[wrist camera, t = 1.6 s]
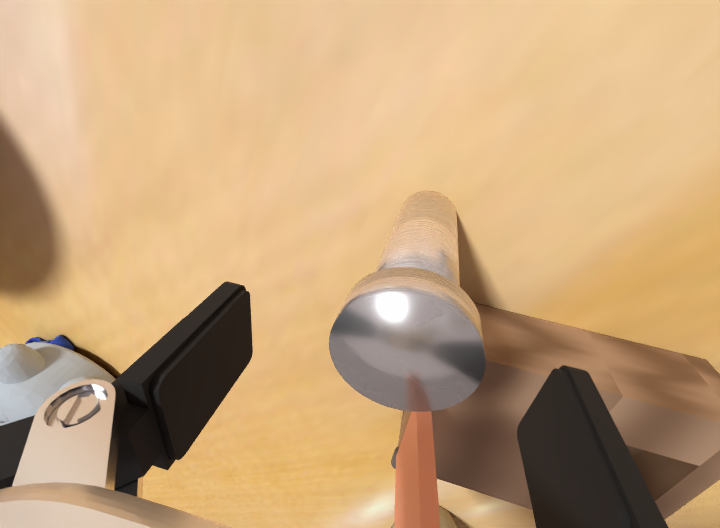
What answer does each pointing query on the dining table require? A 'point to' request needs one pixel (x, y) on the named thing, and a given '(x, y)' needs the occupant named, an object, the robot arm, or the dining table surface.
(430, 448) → the plate
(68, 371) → the figurine
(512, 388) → the block
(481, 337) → the pin
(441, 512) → the beige bowl
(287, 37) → the dining table surface
